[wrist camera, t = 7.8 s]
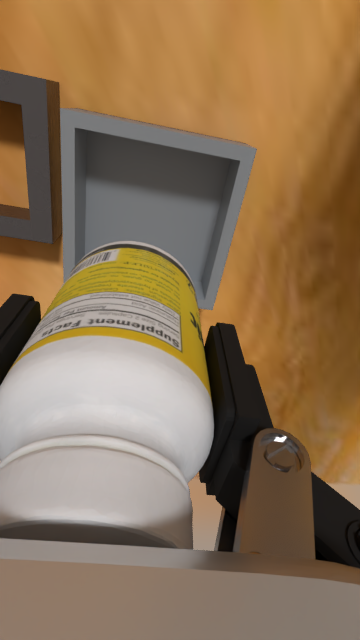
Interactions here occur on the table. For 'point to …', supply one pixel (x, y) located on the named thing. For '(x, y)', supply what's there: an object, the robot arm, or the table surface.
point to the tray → (151, 192)
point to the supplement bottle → (108, 407)
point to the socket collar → (36, 158)
